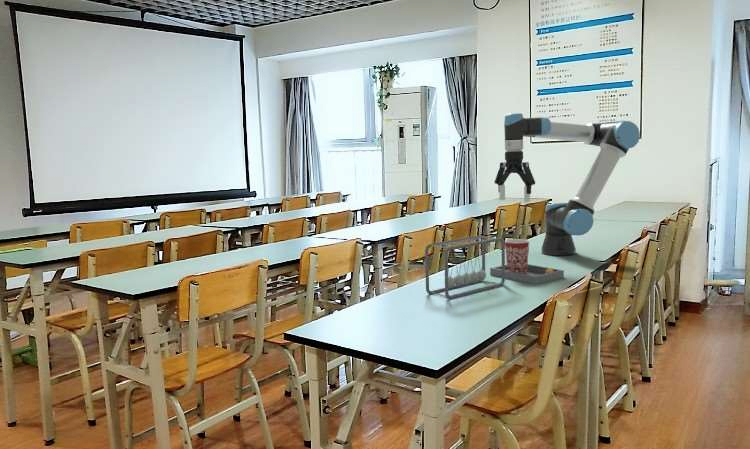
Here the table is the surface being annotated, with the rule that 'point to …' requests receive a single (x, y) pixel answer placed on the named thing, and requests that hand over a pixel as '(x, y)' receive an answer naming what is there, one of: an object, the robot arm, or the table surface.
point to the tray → (529, 274)
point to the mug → (517, 255)
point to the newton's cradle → (465, 278)
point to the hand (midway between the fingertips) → (514, 201)
